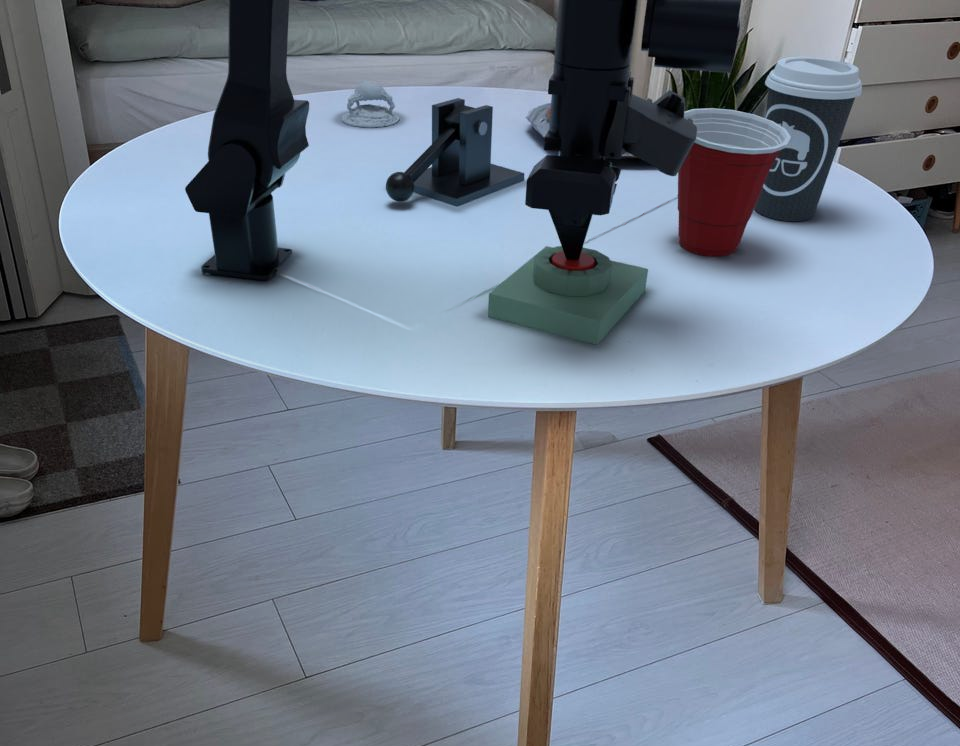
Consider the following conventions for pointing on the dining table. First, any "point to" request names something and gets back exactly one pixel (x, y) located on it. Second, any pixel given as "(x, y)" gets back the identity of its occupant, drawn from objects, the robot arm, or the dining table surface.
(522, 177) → the lever bracket
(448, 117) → the control lever
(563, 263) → the button
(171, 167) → the dining table surface
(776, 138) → the plastic cup
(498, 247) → the dining table surface
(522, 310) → the button block
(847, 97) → the coffee cup
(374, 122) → the miniature
